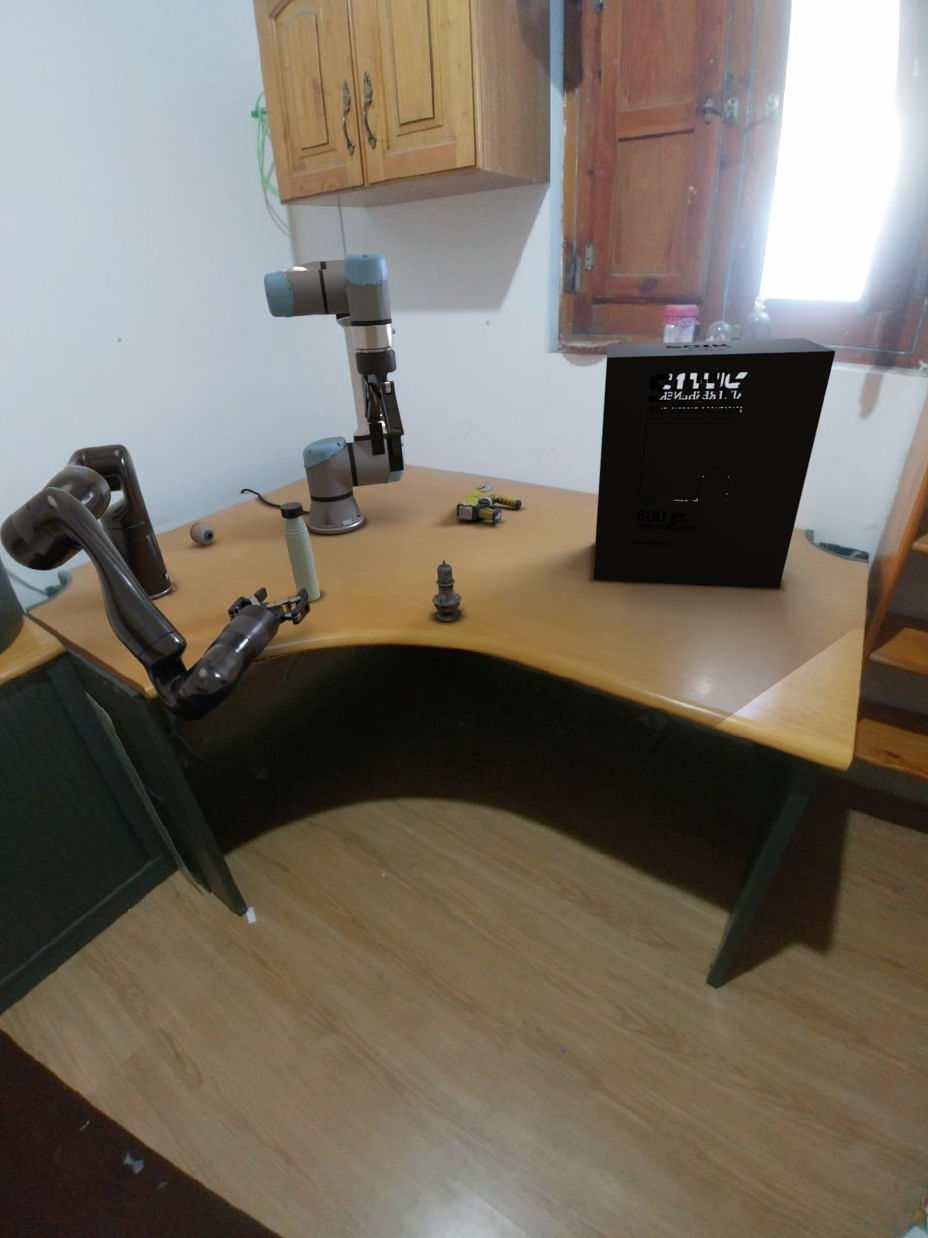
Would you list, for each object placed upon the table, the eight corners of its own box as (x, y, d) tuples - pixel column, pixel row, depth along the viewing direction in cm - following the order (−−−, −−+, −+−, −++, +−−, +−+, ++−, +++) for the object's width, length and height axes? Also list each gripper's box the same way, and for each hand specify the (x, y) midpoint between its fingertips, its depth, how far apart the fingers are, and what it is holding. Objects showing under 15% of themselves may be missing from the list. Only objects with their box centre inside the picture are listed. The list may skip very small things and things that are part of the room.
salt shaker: (459, 622, 119) (455, 567, 113) (430, 620, 120) (425, 566, 114) (464, 608, 124) (461, 554, 118) (437, 606, 125) (432, 553, 119)
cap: (298, 509, 125) (297, 500, 124) (306, 515, 122) (305, 505, 121) (278, 514, 123) (276, 505, 122) (286, 520, 120) (284, 510, 119)
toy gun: (529, 487, 179) (482, 480, 183) (508, 512, 159) (455, 503, 163) (528, 503, 181) (481, 495, 185) (506, 528, 161) (454, 519, 165)
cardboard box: (759, 548, 141) (803, 338, 119) (779, 587, 124) (835, 350, 102) (595, 543, 149) (607, 344, 126) (593, 579, 132) (607, 357, 109)
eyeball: (203, 550, 158) (197, 528, 155) (188, 545, 161) (182, 524, 158) (222, 541, 162) (216, 520, 159) (207, 538, 166) (201, 517, 163)
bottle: (315, 589, 135) (298, 501, 125) (323, 597, 132) (306, 507, 121) (295, 596, 133) (275, 507, 123) (303, 604, 129) (284, 513, 119)
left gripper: (281, 617, 104) (315, 575, 117) (205, 615, 106) (247, 574, 120) (290, 654, 107) (321, 609, 121) (216, 650, 109) (255, 607, 123)
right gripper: (414, 354, 104) (424, 475, 115) (376, 342, 124) (388, 446, 135) (371, 358, 102) (386, 481, 112) (340, 345, 122) (355, 450, 132)
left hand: (284, 592), depth 120 cm, fingers open, 8 cm apart
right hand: (387, 462), depth 124 cm, fingers open, 13 cm apart
